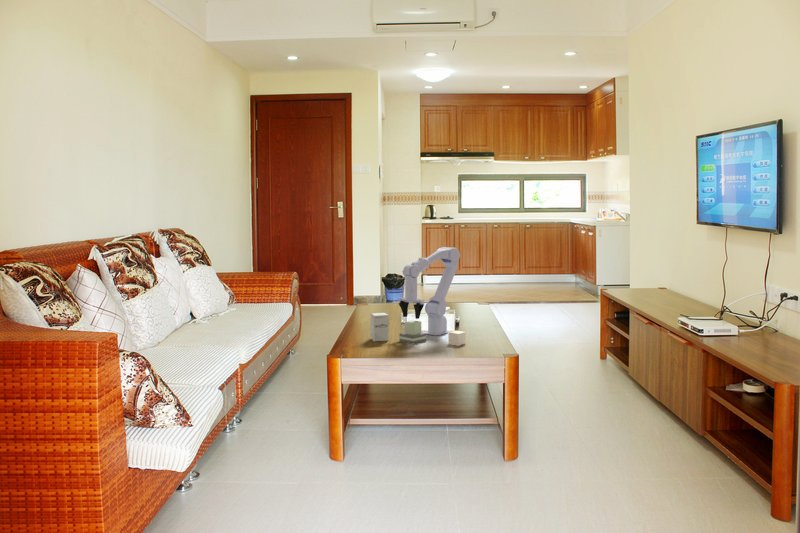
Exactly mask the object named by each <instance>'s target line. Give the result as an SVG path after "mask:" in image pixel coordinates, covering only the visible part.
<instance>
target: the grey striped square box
mask: <svg viewBox="0 0 800 533" xmlns="http://www.w3.org/2000/svg"><path fill="white" fill-rule="evenodd" d="M398 338H399V342H402V343H408V344H413V345H414V344H419V343H422V342H427V334H426V333H425V332H422V331H421V333H420V334H417V335H410V334H405V331H404V332H401V333H399V336H398Z"/></svg>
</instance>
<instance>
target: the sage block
mask: <svg viewBox="0 0 800 533" xmlns="http://www.w3.org/2000/svg"><path fill="white" fill-rule="evenodd" d="M404 332H405V334H410V335H417V334H420V333H421V332H422V321H420V320H408V321H404Z"/></svg>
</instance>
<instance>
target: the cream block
mask: <svg viewBox="0 0 800 533" xmlns="http://www.w3.org/2000/svg"><path fill="white" fill-rule="evenodd" d="M462 344H463V345H466V331H461V330H453V331H448V345H453V346H457V347H458V346H461V345H462Z"/></svg>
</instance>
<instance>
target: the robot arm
mask: <svg viewBox="0 0 800 533" xmlns="http://www.w3.org/2000/svg"><path fill="white" fill-rule="evenodd" d="M460 257H461V254H460V251H459V249H458V248H457V247H448V246H442V247H440V248H437V250H436V251H434V252H432V254H430V255H428V256H427V257H418V259H417V260H416V261H413V262H411V264H406V265H405V266H404V267H403V270H402V275H403V276H404V290H405V291H404V292H405V294H404V295H405V297H401V296H399V297H398V306H399V307H400V310H401V312H402V316H403V318H407V317H408V313H409V310H408V309H409V306H410V304H413V307H414V308H413V309H414V317H415V320H418V319H420V316H421V313H422V310H423V308H424V312H425V313H426V314H427V318H428V319H427V328H428V330H427V331H426V332H424V333H426V335H432V336H435V337H436V336H440V335H444V334H449V331H447V330H448V325H447V323H448V320H447V318H446V316H445V314H446V312H447V306H448V303H447V301H446V297H447V294H448V292H449V289H450V287H451V285H452V282H453V280H454V277H455V274H456V272H457V269H458V265H459V264H458V263H459V260H460ZM438 260H441V263H442V264H443V265H444V267H445V268H444V270H443V273H442V275H441V278H440V280H439V283H438V286H437V288H436V290H435V293H434V295H433V296H431V297H430V298H429V300H428V301H427V302H426V303H425V300H424V299H421V298H418V277H419V275H420V274H421V272H424V271H425V270H427V269H428V268H429V267H430V265H431V264H433V263H435V262H437V261H438Z"/></svg>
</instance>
